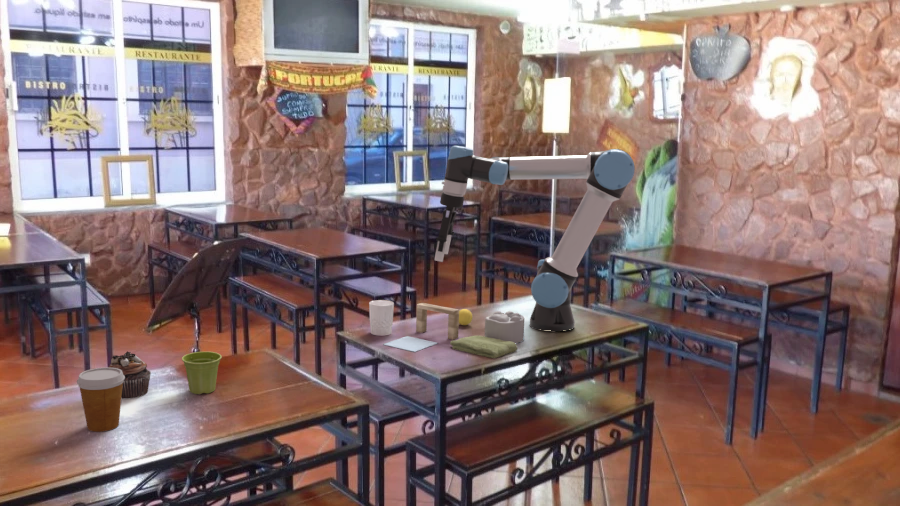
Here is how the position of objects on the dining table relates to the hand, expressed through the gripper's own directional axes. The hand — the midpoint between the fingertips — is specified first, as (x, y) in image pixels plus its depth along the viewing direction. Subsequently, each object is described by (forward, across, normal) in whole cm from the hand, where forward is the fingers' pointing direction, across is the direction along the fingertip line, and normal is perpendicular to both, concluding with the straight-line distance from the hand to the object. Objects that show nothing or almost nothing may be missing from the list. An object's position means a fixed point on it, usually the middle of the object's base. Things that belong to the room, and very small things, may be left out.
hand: (441, 257), depth 257 cm
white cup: (+26, +12, -13) cm, 32 cm away
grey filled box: (+20, +10, +26) cm, 35 cm away
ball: (+20, -4, +11) cm, 23 cm away
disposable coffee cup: (+32, +100, -56) cm, 119 cm away
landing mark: (+24, +22, -2) cm, 33 cm away
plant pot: (+30, +74, -46) cm, 92 cm away
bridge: (+23, +10, +4) cm, 26 cm away
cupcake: (+33, +79, -61) cm, 105 cm away
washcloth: (+21, +22, +20) cm, 37 cm away
